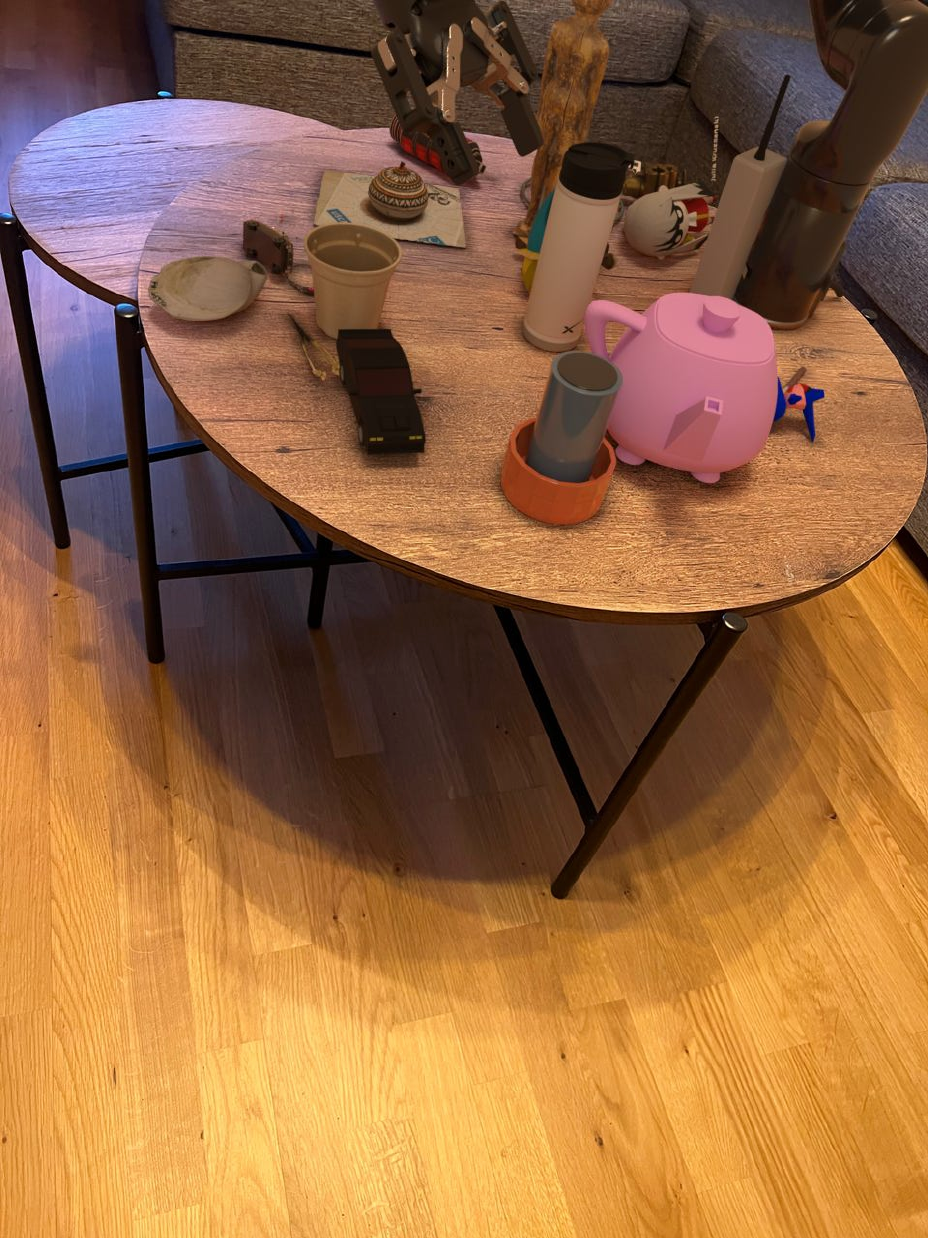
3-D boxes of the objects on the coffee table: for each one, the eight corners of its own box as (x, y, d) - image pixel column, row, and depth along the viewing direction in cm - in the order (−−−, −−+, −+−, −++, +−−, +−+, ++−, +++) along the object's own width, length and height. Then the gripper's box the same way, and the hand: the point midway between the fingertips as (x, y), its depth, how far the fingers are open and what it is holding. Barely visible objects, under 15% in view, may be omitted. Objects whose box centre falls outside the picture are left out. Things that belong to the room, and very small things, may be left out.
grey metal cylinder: (565, 457, 91) (600, 345, 82) (597, 499, 88) (637, 388, 79) (509, 467, 89) (538, 353, 80) (539, 511, 85) (573, 398, 76)
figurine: (765, 389, 96) (743, 427, 99) (836, 407, 97) (812, 444, 100) (758, 362, 99) (737, 400, 103) (827, 380, 100) (804, 417, 104)
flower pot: (291, 300, 101) (294, 220, 95) (379, 298, 104) (388, 221, 98) (310, 354, 96) (315, 273, 89) (403, 350, 99) (413, 272, 92)
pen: (771, 413, 102) (775, 406, 101) (764, 410, 102) (768, 402, 101) (808, 369, 109) (812, 362, 108) (801, 366, 109) (805, 359, 108)
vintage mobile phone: (736, 299, 117) (819, 75, 98) (713, 312, 114) (794, 84, 96) (710, 285, 118) (788, 62, 100) (687, 297, 116) (762, 70, 97)
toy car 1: (279, 241, 99) (343, 236, 104) (220, 204, 106) (283, 200, 111) (277, 279, 102) (340, 272, 106) (219, 240, 108) (281, 235, 113)
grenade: (421, 118, 131) (508, 163, 126) (405, 153, 132) (490, 199, 127) (396, 99, 125) (487, 145, 120) (379, 136, 126) (468, 183, 121)
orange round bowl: (570, 447, 93) (582, 409, 90) (620, 513, 88) (635, 475, 85) (483, 463, 89) (492, 424, 86) (530, 533, 84) (541, 494, 81)
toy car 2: (357, 467, 86) (362, 422, 82) (326, 361, 95) (330, 316, 92) (430, 464, 88) (438, 419, 84) (393, 359, 97) (398, 315, 93)
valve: (569, 192, 133) (573, 152, 130) (677, 198, 133) (685, 158, 130) (573, 208, 127) (578, 167, 124) (687, 214, 128) (694, 173, 125)
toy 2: (736, 246, 124) (662, 269, 116) (675, 239, 130) (601, 261, 122) (745, 114, 116) (667, 130, 108) (680, 114, 122) (601, 128, 114)
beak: (279, 317, 100) (277, 305, 98) (304, 311, 100) (302, 299, 99) (317, 386, 93) (316, 374, 92) (344, 379, 93) (342, 367, 92)
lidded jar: (466, 250, 113) (475, 192, 109) (310, 227, 111) (313, 166, 107) (465, 201, 125) (474, 146, 120) (324, 179, 123) (327, 122, 118)
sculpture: (572, 242, 120) (646, -40, 97) (548, 260, 116) (619, -29, 93) (525, 220, 121) (586, -62, 99) (499, 237, 117) (558, -52, 95)
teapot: (541, 490, 88) (584, 347, 77) (563, 367, 101) (602, 230, 90) (753, 541, 88) (827, 406, 77) (747, 412, 101) (809, 281, 90)
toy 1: (543, 268, 122) (475, 290, 111) (553, 167, 115) (483, 180, 105) (639, 290, 116) (577, 316, 105) (656, 185, 109) (592, 201, 99)
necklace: (292, 300, 102) (292, 292, 101) (282, 265, 105) (282, 256, 105) (331, 299, 103) (332, 291, 102) (320, 264, 107) (321, 256, 106)
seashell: (288, 285, 95) (285, 327, 99) (251, 235, 98) (249, 278, 102) (171, 308, 89) (172, 351, 93) (135, 254, 93) (138, 298, 97)
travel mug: (577, 359, 103) (633, 172, 88) (517, 343, 103) (562, 153, 88) (584, 328, 107) (638, 144, 92) (526, 313, 107) (571, 127, 92)
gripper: (369, -86, 61) (481, 169, 67) (498, -106, 70) (588, 121, 75) (303, -19, 67) (411, 211, 72) (430, -46, 75) (518, 162, 81)
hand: (501, 165), depth 74 cm, fingers open, 8 cm apart
